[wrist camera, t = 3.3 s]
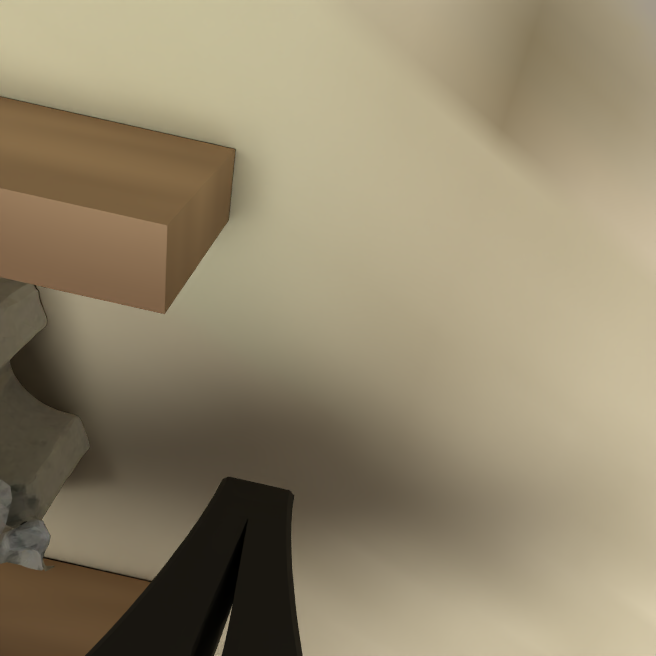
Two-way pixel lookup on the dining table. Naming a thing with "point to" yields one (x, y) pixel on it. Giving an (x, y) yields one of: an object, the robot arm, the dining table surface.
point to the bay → (96, 293)
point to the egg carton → (29, 438)
